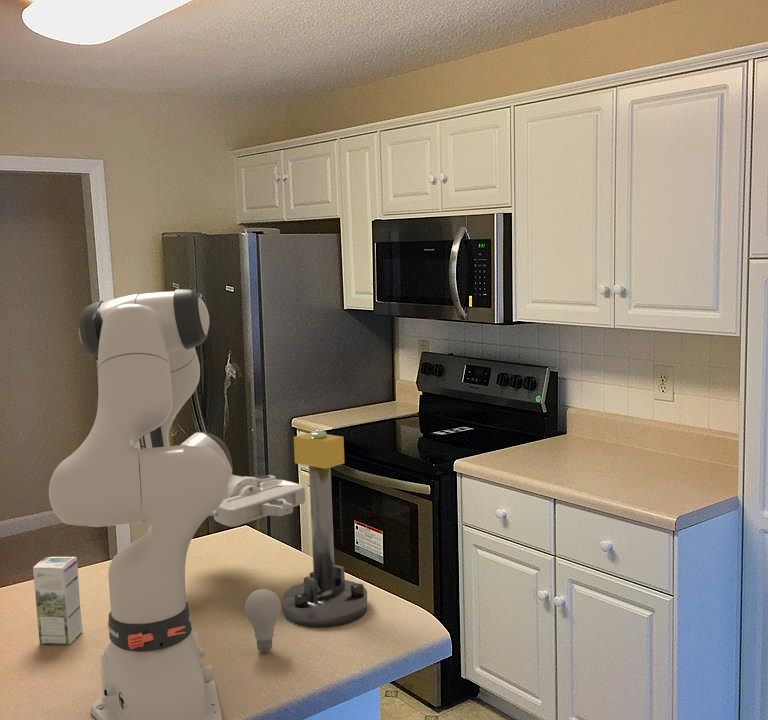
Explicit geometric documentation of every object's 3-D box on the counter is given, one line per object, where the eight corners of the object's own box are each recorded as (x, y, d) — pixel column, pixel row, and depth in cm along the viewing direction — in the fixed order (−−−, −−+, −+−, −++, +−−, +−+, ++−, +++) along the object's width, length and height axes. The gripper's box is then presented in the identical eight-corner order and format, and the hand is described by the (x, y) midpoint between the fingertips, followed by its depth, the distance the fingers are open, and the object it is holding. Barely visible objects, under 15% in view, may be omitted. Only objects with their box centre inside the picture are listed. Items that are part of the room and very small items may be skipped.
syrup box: (83, 631, 159) (78, 555, 157) (69, 646, 153) (62, 566, 151) (53, 631, 159) (47, 554, 157) (38, 645, 153) (31, 566, 152)
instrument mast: (351, 590, 164) (344, 428, 161) (329, 601, 160) (322, 434, 156) (320, 581, 170) (314, 424, 166) (298, 591, 165) (291, 430, 161)
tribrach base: (384, 606, 166) (383, 568, 165) (327, 635, 154) (325, 595, 153) (324, 587, 176) (322, 552, 175) (265, 613, 164) (263, 576, 163)
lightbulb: (272, 662, 144) (269, 599, 143) (240, 657, 146) (237, 595, 145) (289, 646, 150) (286, 585, 149) (257, 642, 152) (254, 581, 151)
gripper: (199, 495, 170) (246, 507, 161) (276, 473, 185) (323, 483, 176) (201, 526, 171) (247, 540, 162) (277, 501, 186) (324, 513, 177)
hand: (287, 510), depth 169 cm, fingers closed
